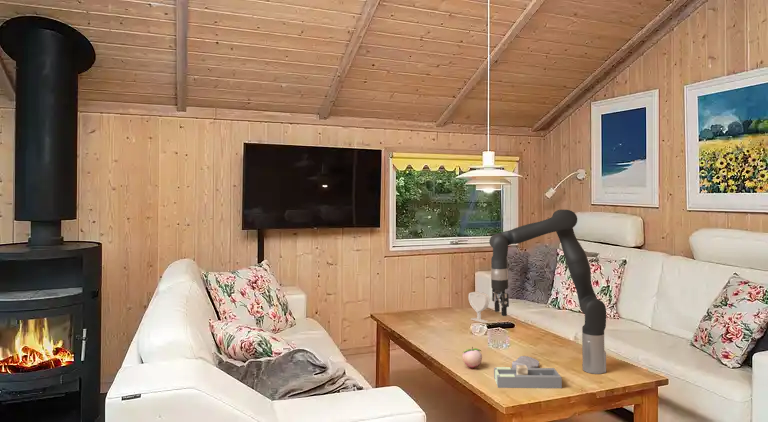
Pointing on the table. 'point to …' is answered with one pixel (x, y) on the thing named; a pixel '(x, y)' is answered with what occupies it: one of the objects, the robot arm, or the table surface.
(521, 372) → the cube
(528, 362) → the stone block
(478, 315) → the heart sculpture
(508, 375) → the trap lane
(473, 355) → the decorative fruit
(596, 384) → the table surface
